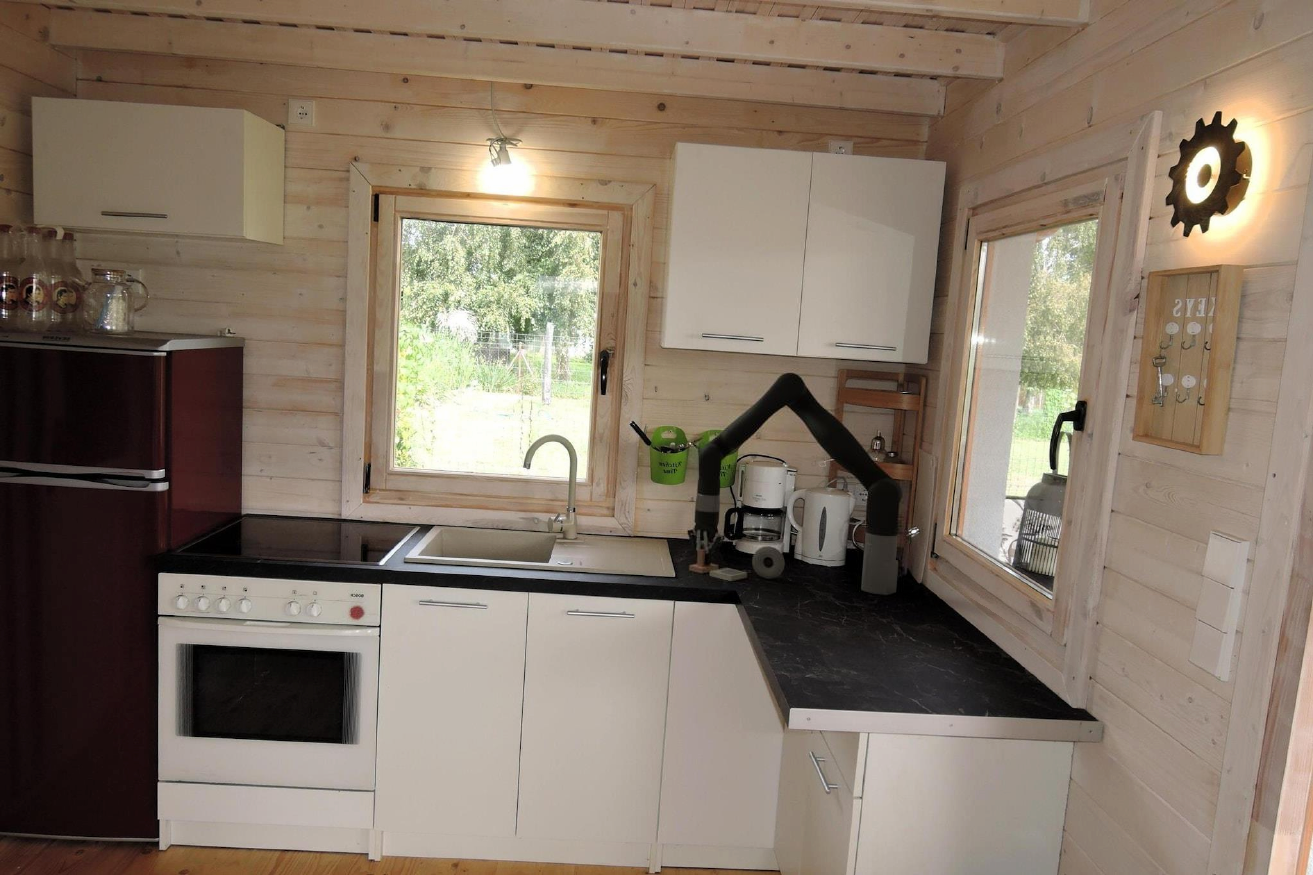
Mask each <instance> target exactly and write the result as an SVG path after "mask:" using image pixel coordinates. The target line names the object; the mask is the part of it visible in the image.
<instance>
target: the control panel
mask: <svg viewBox="0 0 1313 875" xmlns="http://www.w3.org/2000/svg"><path fill="white" fill-rule="evenodd" d="M709 576H710V577H713V578H716V579H720V580H725V581H729V582H732V581H737V580H742V579H745V578H747V577H748V572H745V571H741V570H738V569H733V568H729V567H723V568H718V569H717V570H712V571H710V572H709Z"/></svg>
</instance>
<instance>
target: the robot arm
mask: <svg viewBox="0 0 1313 875" xmlns="http://www.w3.org/2000/svg"><path fill="white" fill-rule="evenodd" d="M785 407H787V408H789V409H790V410H791V412H793V413H794V414H795V415H797V416H798V418H799V419H800V420H801V421H802V422H803V423H804V425H805V426H806V428H807V429H808V431H809V433H810V434H811V435H812V436H813V438H814V439H815V441H816V442H817V443H818V444H819V446H820V448H822V449H823V450H824V451H825V453H827V454H828V456H829V457H830V458H831V459H832V461H833V460H834V462H835V463H837V464H838V465H839V466H841V467H842V468H843V469H844V470H846V471H847V472H849V473H850V474H851V475H852V476H854V477H855V479H857V481H859V483H860V484H861V486H863V488H864V489H865V490H866V492H867V496H866V508H865V536H864V537H865V538H864V550H863V562H862V571H861V572H862V573H861V574H862V575H861V590H862V591H863V592H866V593H870V594H873V595H875V594H876V595H884V596H888V595H891V594H894V593H896V592H897V582H898V572H899V571H898V570H899V560H897V548H898V537H899V513H900V503H901V501H902V498H903V490H902V487H901V486H900V484H899V483H898V482H897V481H896V480H895V479H894V478H893V477H892V476H890V475H889V474H888V473H887V472H886V471H885V470H884V469H882V468H881V467H880V465H878V464H877V463H876V462H875V461H874V460H873V458H872V457H871V456H870V454H869V452H867V450H866V449H865V448H864V447H863V446H862V444H861V443H860V442H859V440H857V438H856V437H855V435H853V434H852V432H851V431H850V430H849V429H848V428H847V427H846V426H845V425H844V424H843V423H842V422H841V421H840V420H839V419H838V418H837V417H836V416H834V415H833V414H832V413H831V412H830V411H828V410H827V409H825V407H823V405H821V403H819V401H818V400H817V399H816V398H815V396H814V395H813V394H812V392H811V391H810V390H809V388H808V387H807V385H806V383H805V382H804V380H803V378H802V377H801V376H800V375H799V374H797V373H794V372H787V373H783V374H781V375H779V377H778V378H777V379H776V380H775V381H774V383H773V384H771V386H770V387H769V388H768V390H767V391H766V392H765V393H764V394H763V395H762V396H761V398H759V399H758V400H757V401H756V402H755V403H754V404H753V405H752V406H751V407H750V408H748V409H747V410H746V411H745V412H743V413H742V414H741V415H740V416H739V417H737V418H735V420H733V421H732V422H731V423H730V424H729V425H728V426H727V427H725V428H724V429H723V430H722V431H721V432H720V433H719V434H718V435H717V436H715V437H714V438H713V439H711V440H710V441H709V442H707V443H706V444H705V445H704V446H702V448H701V449H700V451H699V454H698V479H697V487H696V488H697V489H696V498H695V504H694V505H695V506H694V507H695V508H694V509H695V510H694V523H695V525H694V526H693V528H692V529H688V530H687V536H688V538H689V541H690V544H691V547H692V549H694V550H696V556H697V557H698V550H699V549H705V552H706V553H705V562H704V564H705V565H710V563H711V564H712V562H713V561H712V559H713V553H718V551H719V549H720V547H721V546H722V545H723V543H724V540H725V535H721V534H720V533H719V529H718V527H719V526H718V525H719V523H720V513H721V512H720V511H721V510H720V508H721V498H720V497H721V495H720V494H721V471H722V470H721V468H722V461H723V460H724V459H725V458H726V457H727V456H729V455H730V454H731V453H732V452H733V451H735V450H737V449H738V448H740V446H742V445H743V444H744V443H745V442H747V441H748V440H749V439H750V438H752V437H753V435H755V434H756V433H757V431H759V430H760V429H761V427H763V425H764V424H765V423H766V422H767V421H768V420H769V419H770V418H771V417H772V416H774V414H776V413H777V412H779V411H780V410H781V409H783V408H785ZM697 557H696V558H697Z"/></svg>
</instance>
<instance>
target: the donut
mask: <svg viewBox="0 0 1313 875" xmlns="http://www.w3.org/2000/svg"><path fill="white" fill-rule="evenodd" d="M767 558H770V559H771V560H772V563H773V564H772V566H771V567H767V566H765V564H764V560H765V559H767ZM751 562H752V568H753V570H754V572H755V573H756V574H757V575H758V576H759V577H761V578H763V579H767V580H772V579H776V578H778V577H779V576H780V575H781V574H782V572H783V571H784V569H785V563H786V562H785V559H784V555H783V554H782V552H781V551H780V550H779V549H777V548H776V547H774V546H770V545H769V546H767V545H766V546H765V545H764V546H762V547H760V548H758V549H757V550H756V551H755V552H754V554H753V555H752V559H751Z"/></svg>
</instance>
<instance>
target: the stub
mask: <svg viewBox="0 0 1313 875" xmlns="http://www.w3.org/2000/svg"><path fill="white" fill-rule="evenodd" d="M705 553H706V552H705V548H704V549H699V550H698V557H696V563H695V564H690V565H688V566H689V569H688V571H691V572H694V573H699V574H704V573H705V574H706V573H710V571H712V570H717V569H719V565H718V564H714V563H712V562H711V563H710V565H705V564H704V562H705Z"/></svg>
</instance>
